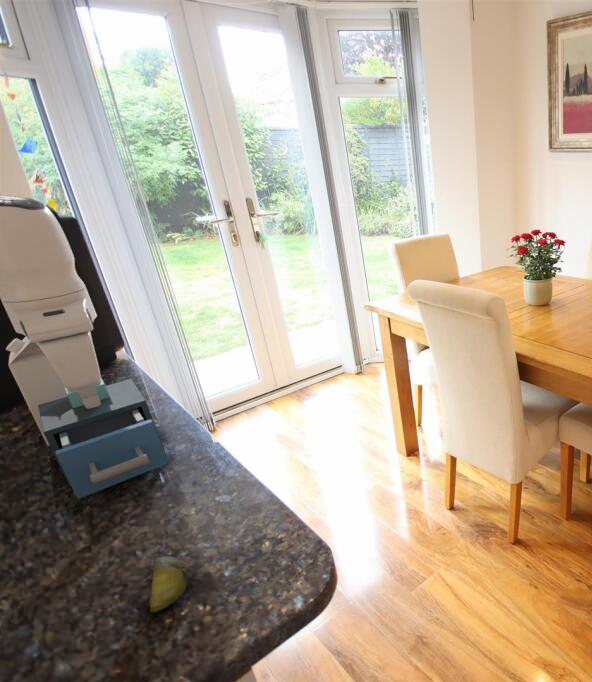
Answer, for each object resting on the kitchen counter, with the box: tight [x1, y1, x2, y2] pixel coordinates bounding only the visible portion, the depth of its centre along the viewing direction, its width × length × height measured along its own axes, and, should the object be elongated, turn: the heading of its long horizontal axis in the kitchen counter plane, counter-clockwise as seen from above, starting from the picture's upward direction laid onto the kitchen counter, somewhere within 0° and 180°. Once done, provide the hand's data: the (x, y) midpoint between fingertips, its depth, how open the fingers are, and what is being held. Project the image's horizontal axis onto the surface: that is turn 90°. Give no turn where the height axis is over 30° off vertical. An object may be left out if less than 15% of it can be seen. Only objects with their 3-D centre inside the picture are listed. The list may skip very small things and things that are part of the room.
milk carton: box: [5, 336, 68, 447], centre depth 77 cm, size 7×7×19 cm
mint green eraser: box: [65, 377, 110, 408], centre depth 71 cm, size 3×4×2 cm
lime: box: [149, 556, 188, 614], centre depth 48 cm, size 4×5×5 cm
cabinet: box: [38, 378, 165, 486], centre depth 72 cm, size 12×12×9 cm
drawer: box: [55, 408, 169, 500], centre depth 66 cm, size 15×10×7 cm
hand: (89, 397), depth 72 cm, fingers open, 7 cm apart
